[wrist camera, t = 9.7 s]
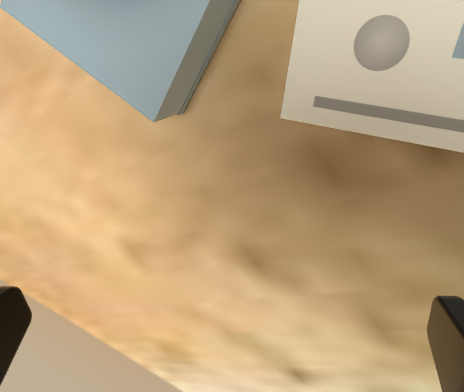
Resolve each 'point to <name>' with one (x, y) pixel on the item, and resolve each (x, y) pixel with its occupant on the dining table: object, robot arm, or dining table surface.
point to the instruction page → (380, 69)
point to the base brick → (133, 44)
